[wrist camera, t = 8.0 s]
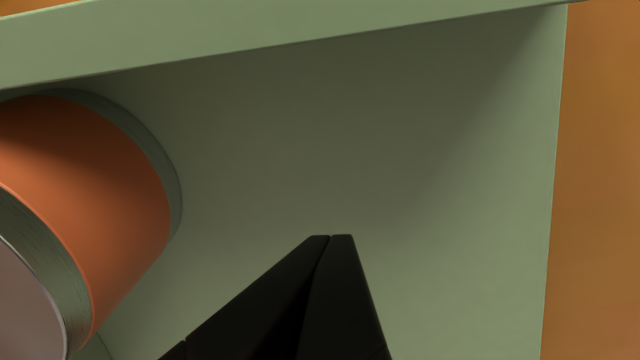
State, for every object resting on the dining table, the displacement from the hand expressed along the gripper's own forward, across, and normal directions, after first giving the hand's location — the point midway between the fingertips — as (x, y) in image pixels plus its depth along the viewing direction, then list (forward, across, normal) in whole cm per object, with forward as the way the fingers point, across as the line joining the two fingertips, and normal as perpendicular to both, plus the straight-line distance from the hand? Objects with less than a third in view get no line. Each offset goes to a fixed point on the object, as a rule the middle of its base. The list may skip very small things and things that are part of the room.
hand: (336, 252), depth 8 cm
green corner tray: (+6, +4, +2) cm, 7 cm away
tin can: (+4, +9, 0) cm, 10 cm away
